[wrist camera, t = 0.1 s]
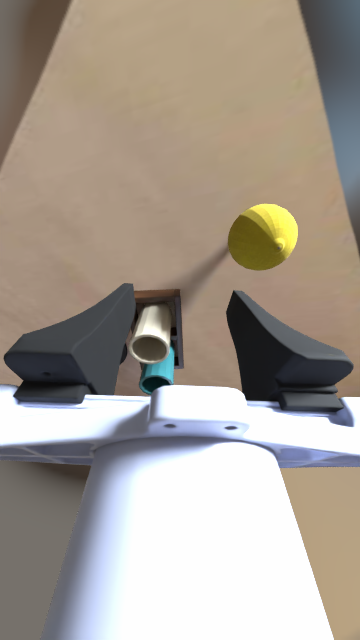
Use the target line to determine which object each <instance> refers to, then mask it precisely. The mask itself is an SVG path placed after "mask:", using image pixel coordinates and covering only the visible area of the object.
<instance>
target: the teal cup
mask: <svg viewBox="0 0 360 640" xmlns="http://www.w3.org/2000/svg"><path fill="white" fill-rule="evenodd" d="M174 352H175V344H174V341H173V340H170V353H169V355H168V357H167V358H166V359H165V360H164V361H162V362H160V363H156V364H145V363H143V368H142V372H141V377H140V381H139V387H140V389H141V390H142V391H143V392H144V393H146V394H148V395H151V394H152V392H153V391H154V390H155V389H158V388H160V387H162V386H171V385H174Z"/></svg>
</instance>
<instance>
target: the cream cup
mask: <svg viewBox="0 0 360 640" xmlns="http://www.w3.org/2000/svg"><path fill="white" fill-rule="evenodd" d="M171 323H172V310H171V308H170V306H169V305H168V304H167V303H166V302H151V303H145V304H144V305H143V307H142V310H141V312H140V315H139V318H138V321H137V323H136V326H135V329H134V332H133V335H132V337H131V340H130V343H129V346H128V348H129V353H130V354H131V355H132V357H133V358H134V359H136V360H137V361H139V362H142V363H145V364H156V363H160V362H162V361H164V360H165V359H166V358H167V357H168V355H169V353H170V339H171Z"/></svg>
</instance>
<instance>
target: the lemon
mask: <svg viewBox="0 0 360 640" xmlns="http://www.w3.org/2000/svg"><path fill="white" fill-rule="evenodd" d="M297 234H298V231H297V225H296V222H295V220H294V218H293V217H292V215H291V214H290V213H289V212H288V211H287V210H285V209H283V208H281V207H279V206H277V205H271V204H262V205H257V206H254V207H252V208H250V209H247V210H246V211H244V212H243V213H242V214H241V215H239V217H238V218H237V219H236V220H235V222H234V223H233V225H232V227H231V229H230V232H229V236H228V247H229V251H230V253H231V255H232V257H233V259H234V260H235V261H236V262H237V263H238V264H239V265H241V266H243V267H245V268H247V269H251V270H267V269H270V268H273V267H275V266H277V265H279V264H280V263H282V262H283V261H284V260H285V259H286V258H287V257H288V256H289V255H290V254H291V252H292V250H293V249H294V247H295V244H296V241H297Z"/></svg>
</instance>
